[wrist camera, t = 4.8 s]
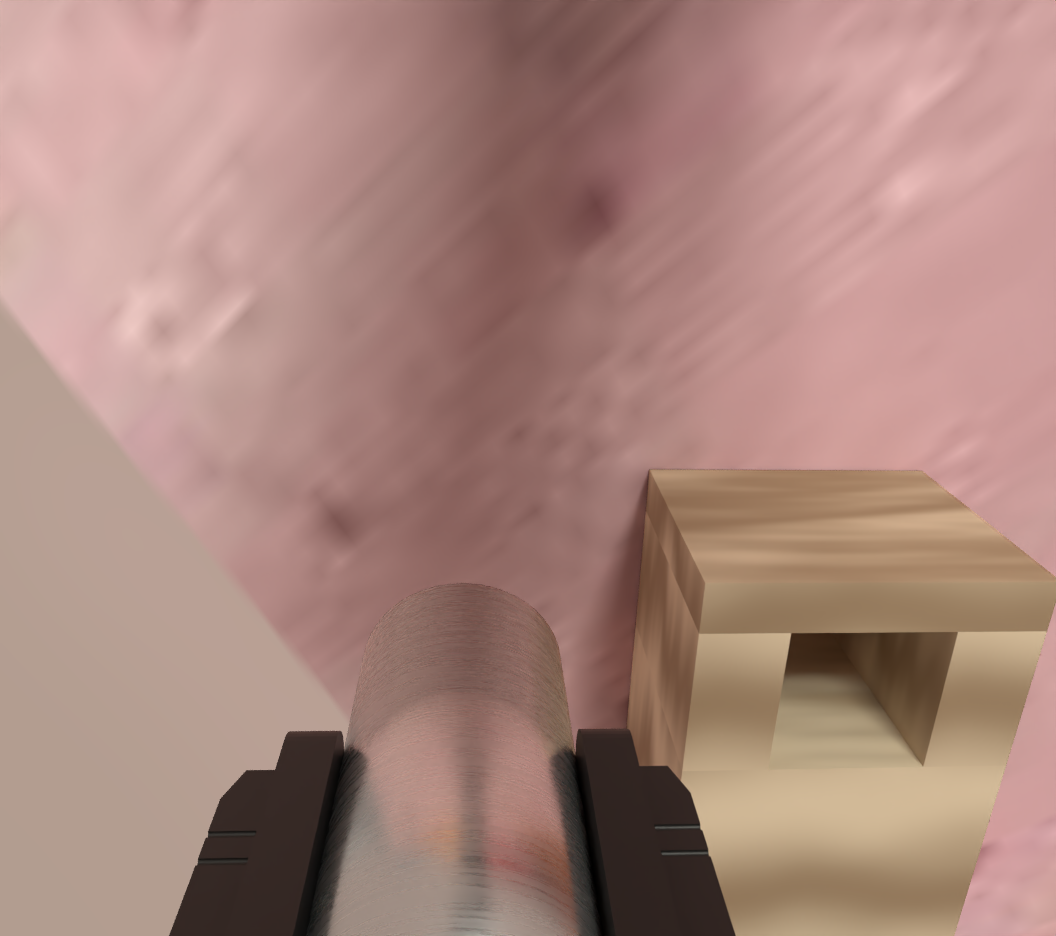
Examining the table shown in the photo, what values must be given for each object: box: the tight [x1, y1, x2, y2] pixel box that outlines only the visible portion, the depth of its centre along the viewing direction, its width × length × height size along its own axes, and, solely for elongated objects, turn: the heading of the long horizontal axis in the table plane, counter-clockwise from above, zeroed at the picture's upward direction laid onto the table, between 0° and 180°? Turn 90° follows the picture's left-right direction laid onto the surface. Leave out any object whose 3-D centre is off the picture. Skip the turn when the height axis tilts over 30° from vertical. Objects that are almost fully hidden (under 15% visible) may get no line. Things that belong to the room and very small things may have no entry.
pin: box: [306, 583, 603, 936], centre depth 10 cm, size 3×3×10 cm
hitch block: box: [626, 470, 1056, 936], centre depth 29 cm, size 16×10×10 cm, turn 178°
